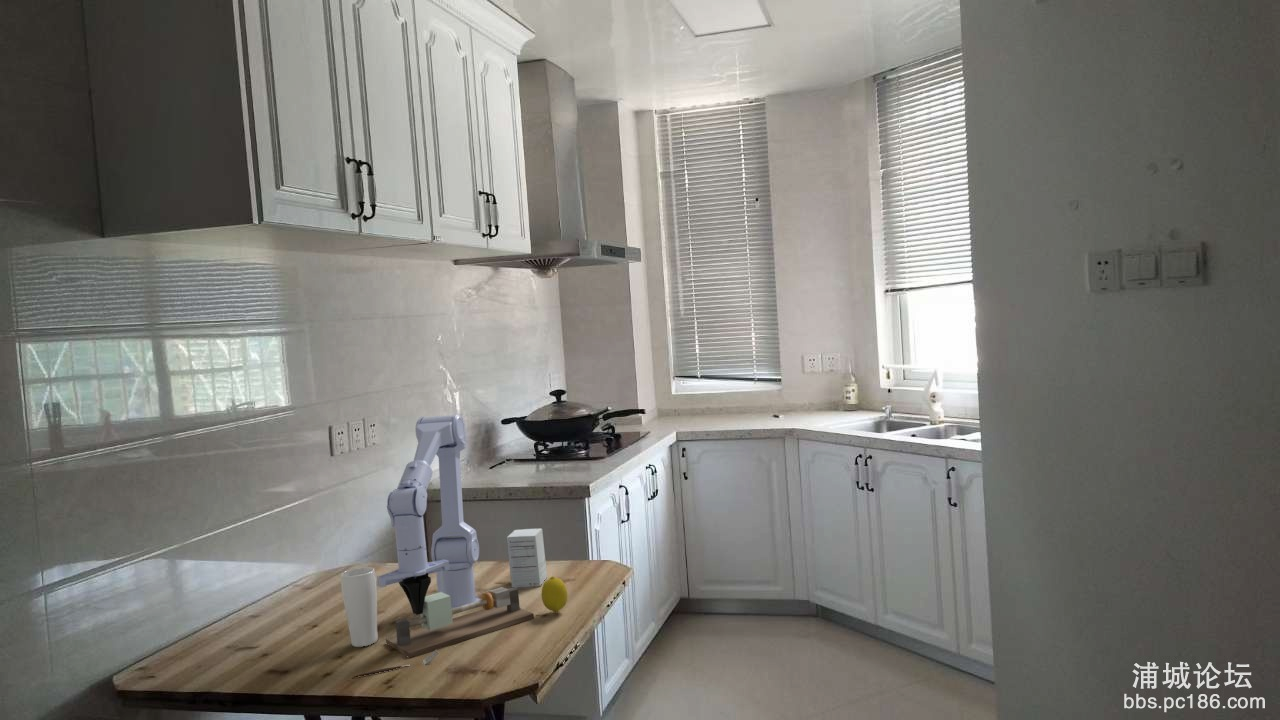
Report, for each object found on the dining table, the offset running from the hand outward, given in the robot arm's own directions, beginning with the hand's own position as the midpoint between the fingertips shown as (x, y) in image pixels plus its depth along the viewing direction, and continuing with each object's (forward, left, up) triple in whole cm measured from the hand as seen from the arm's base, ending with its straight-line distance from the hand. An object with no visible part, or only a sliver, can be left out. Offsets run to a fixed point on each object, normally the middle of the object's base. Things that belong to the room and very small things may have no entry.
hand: (417, 613), depth 173 cm
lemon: (+7, +28, -6) cm, 30 cm away
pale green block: (0, +4, -3) cm, 5 cm away
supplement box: (-18, +36, -6) cm, 41 cm away
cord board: (0, +9, -6) cm, 11 cm away
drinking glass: (-10, -8, -6) cm, 14 cm away
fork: (+9, -9, -7) cm, 14 cm away
